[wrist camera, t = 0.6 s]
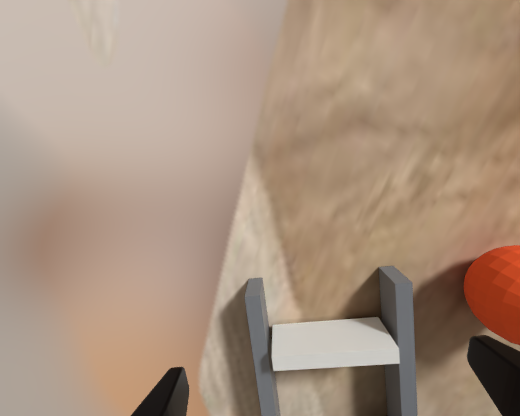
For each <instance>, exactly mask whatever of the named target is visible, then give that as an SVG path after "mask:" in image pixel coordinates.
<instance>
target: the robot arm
mask: <svg viewBox="0 0 520 416" xmlns="http://www.w3.org/2000/svg"><path fill="white" fill-rule="evenodd" d="M467 359H468V362H469V365H470V366H471V368H472V370H473V371H474V373H475V374H476V376H477V377H478V379H479V380H480V382H481V383H482V385H483V387H484V388H485V390H486V391H487V393H488V394H489V396H490V397H491V399H492V400H493V402H494V404H495V405H496V407H497V408H498V410H499V411H500V413H501V414H502V416H520V351H518V350H516V349H513V348H511V347H509V346H507V345H505V344H503V343H501V342H499V341H497V340H495V339H493V338H491V337H489V336H486V335H479V336H472V337H471V338H470V341H469V347H468V353H467ZM188 397H189V385H188V381H187V377H186V373H185V369H184V368H183V367H174V368H171V369H169V370H168V371H167V373H166V374H165V375H164V376H163V377H162V379H161V380H160V381H159V382H158V383H157V385H156V386H155V387H154V388H153V389H152V391H151V392H150V393H149V394H148V395H147V397H146V398H145V399H144V400H143V401H142V403H141V404H140V405H139V406H138V407H137V409H136V410H135V411H134V412H133V414H132V415H131V416H186V412H187V405H188Z"/></svg>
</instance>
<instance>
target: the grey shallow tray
mask: <svg viewBox="0 0 520 416" xmlns="http://www.w3.org/2000/svg"><path fill="white" fill-rule="evenodd" d="M379 281H380V298H381V315H382V324H383V325H384V327H385V328H386V330H387V331H388V333H389V334H390V336H391V337H392V339H393V340H394V342H395V343H396V345H397V346H398V348H399V358H400V364H384V366H385V383H386V400H387V416H417V392H416V366H415V340H414V314H413V288H412V282H411V281H410V280H409V279H408V278H407V277H405V276H404V275H403V274H402V273H401V272H400V271H399V270H397V269H396V268H395V267H394V266H385V267H379ZM245 304H246V311H247V318H248V325H249V332H250V339H251V346H252V353H253V360H254V366H255V373H256V380H257V387H258V394H259V401H260V408H261V415H262V416H280V409H279V401H278V393H277V386H276V378H275V371H273V364H272V348H271V340H270V332H269V325H268V317H267V310H266V302H265V294H264V287H263V279H262V278H254V279H249V281H248V285H247V289H246V293H245Z"/></svg>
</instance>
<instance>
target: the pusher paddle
mask: <svg viewBox="0 0 520 416" xmlns="http://www.w3.org/2000/svg"><path fill="white" fill-rule="evenodd" d="M272 364H273V371H285V370H301V369H317V368H334V367H350V366H367V365H383V364H400V358H399V348H398V346H397V345H396V343H395V342H394V340H393V339H392V337H391V336H390V334H389V333H388V331H387V330H386V328H385V327H384V325H383V324H382V322H381V321H380V319H379V318H378V317H370V318H357V319H343V320H330V321H317V322H304V323H291V324H277V325H273V328H272Z"/></svg>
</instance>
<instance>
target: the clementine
mask: <svg viewBox="0 0 520 416" xmlns="http://www.w3.org/2000/svg"><path fill="white" fill-rule="evenodd" d="M464 293H465V298H466V300H467V302H468V305H469V306H470V308H471V310H472V312H473V314H474V315H475V316H476V317H477V318H478V319H479V320H480V321H481V322H482V323H483V324H484V325H485V326H486V327H487V328H488V329H489V330H490V331H492V332H494V333H495V334H497V335H499V336H501V337H502V338H504V339H506V340H508V341H509V342H511V343H515V344H518V345H520V246H506V247H501V248H496V249H493V250H491V251H489V252H487V253H485V254H483V255H481V256H480V257H479V258H478V259H476V260H475V261H474V262H473V263H472V264H471V266H470V267H469V268H468V271H467V273H466V276H465V280H464Z"/></svg>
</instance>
